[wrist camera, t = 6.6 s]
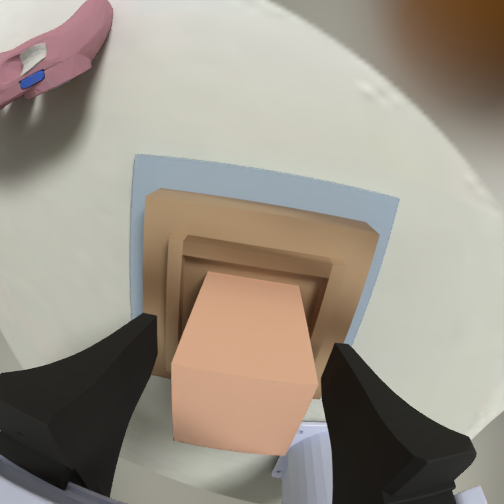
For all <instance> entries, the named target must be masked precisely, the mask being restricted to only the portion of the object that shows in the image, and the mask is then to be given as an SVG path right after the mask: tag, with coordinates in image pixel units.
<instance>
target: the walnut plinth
mask: <svg viewBox="0 0 504 504" xmlns="http://www.w3.org/2000/svg"><path fill="white" fill-rule="evenodd" d="M379 236H380V234H379V233H378V232H376V231H375V230H374V229H373V228H372V227H371V226H370V225H369V224H368V223H366V222H363V221H358V220H353V219H348V218H343V217H338V216H333V215H328V214H323V213H318V212H312V211H307V210H301V209H296V208H290V207H285V206H279V205H273V204H267V203H261V202H255V201H249V200H242V199H236V198H229V197H223V196H216V195H209V194H202V193H195V192H187V191H180V190H172V189H164V188H160V189H158V190H156V191H154V192H152V193H150V194H148V195H146V198H145V214H144V237H143V313H147V314H152V315H157V341H158V355H157V358H156V361H155V365H154V367H153V370H152V373H151V375H156V376H160V377H164V378H169V379H171V363H172V361H173V358H174V355H175V353H176V350H177V348H178V345H179V342H180V340H181V337H182V335H183V332H184V329H185V327H186V324H187V322H188V319H189V317H190V314H191V312H192V309H193V307H194V304H195V302H196V299H197V297H198V294H199V292H200V289H201V287H202V284H203V282H204V279H205V277H206V275H207V272H208V271H209V272H215V273H221V274H227V275H233V276H239V277H245V278H252V279H258V280H264V281H271V282H277V283H283V284H290V285H297V286H299V288H300V293H301V298H302V303H303V307H304V312H305V317H306V322H307V327H308V332H309V337H310V342H311V347H312V353H313V358H314V363H315V368H316V374H317V379H318V387H317V389H316V391H315V394H314V396H313V398H312V399H320V398H321V396H322V394H321V376H322V374H323V371H324V369H325V366H326V364H327V361H328V359H329V356H330V354H331V351H332V348H333V346H334V343H344V341H345V338H346V336H347V333H348V331H349V328H350V325H351V323H352V320H353V317H354V314H355V312H356V309H357V306H358V303H359V300H360V297H361V294H362V291H363V288H364V285H365V282H366V279H367V276H368V273H369V270H370V267H371V263H372V260H373V257H374V253H375V250H376V246H377V243H378V239H379Z"/></svg>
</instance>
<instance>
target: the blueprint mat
mask: <svg viewBox="0 0 504 504" xmlns="http://www.w3.org/2000/svg"><path fill="white" fill-rule="evenodd" d="M160 188H164V189H172V190H180V191H187V192H195V193H202V194H209V195H216V196H223V197H229V198H236V199H242V200H249V201H255V202H261V203H267V204H273V205H279V206H285V207H290V208H296V209H301V210H307V211H312V212H318V213H323V214H328V215H333V216H338V217H343V218H348V219H353V220H358V221H363V222H366V223H368V224H369V225H370V226H371V227H372V228H373V229H374V230H375V231H376V232H378V233H379V234H380V236H379V239H378V243H377V246H376V250H375V253H374V257H373V260H372V263H371V267H370V270H369V273H368V276H367V279H366V282H365V285H364V288H363V291H362V294H361V297H360V300H359V303H358V306H357V309H356V312H355V314H354V317H353V320H352V323H351V325H350V328H349V331H348V333H347V336H346V338H345V341H344V343H345V344H349V345H350V346H351V347H352V344H353V342H354V339H355V337H356V334H357V332H358V329H359V327H360V324H361V321H362V319H363V316H364V313H365V311H366V308H367V305H368V302H369V300H370V297H371V294H372V291H373V288H374V285H375V282H376V279H377V276H378V273H379V270H380V267H381V264H382V261H383V257H384V254H385V251H386V248H387V244H388V241H389V237H390V234H391V230H392V226H393V223H394V219H395V215H396V211H397V207H398V203H399V199H398V198H396V197H392V196H389V195H385V194H381V193H377V192H372V191H368V190H364V189H360V188H355V187H351V186H347V185H342V184H337V183H333V182H328V181H323V180H318V179H313V178H308V177H303V176H298V175H293V174H287V173H281V172H276V171H270V170H264V169H258V168H251V167H245V166H238V165H231V164H224V163H217V162H209V161H201V160H193V159H184V158H175V157H165V156H154V155H143V154H136V155H135V163H134V174H133V188H132V206H131V235H130V279H131V308H132V320H133V319H134V318H136V317H137V316H139V315H140V314H142V313H143V237H144V214H145V198H146V195H148V194H150V193H152V192H154V191H156V190H158V189H160Z"/></svg>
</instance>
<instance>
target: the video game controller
mask: <svg viewBox="0 0 504 504" xmlns="http://www.w3.org/2000/svg"><path fill="white" fill-rule="evenodd" d="M112 18H113V8H112V6H111V4H110V3H109V2H108V0H87V1H86V2H85V3H84V4H83V5H82V6H81V7H80V8H79V9H78V10H77V11H76V12H75V14H74V15H73V16H72V17H71V18H70V19H68V20H67V21H66V22H65V23H64V24H62V25H60V26H59V27H57V28H56V29H54V30H52V31H49V32H47V33H44V34H42V35H39V36H37V37H35V38H33V39H30V40H29V41H27V42H25V43H23V44H21V45H20V46H18V47H16V48H15V49H13V50H10V51H7V52H3V53H0V110H1V109H2V108H4V107H5V106H6V105H8V104H9V103H11V102H12V101H14V100H16V99H17V98H19V97H20V96H22V95H24V97H25V99H30V98H33V97H35V96H38V95H40V94H42V93H44V92H46V91H51V90H54V89H56V88H58V87H60V86H62V85H64V84H66V83H68V82H69V81H70V80H71V79H73V78H74V77H76V76H78V75H80V74H82V73H84V72H85V71H87V70H89V69H90V68H91V61H92V60H93V58H94V57H95V55H96V54H97V52H98V51H99V49H100V48H101V46H102V45H103V43H104V41H105V39H106V37H107V35H108V33H109V31H110V28H111V24H112Z"/></svg>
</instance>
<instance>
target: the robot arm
mask: <svg viewBox="0 0 504 504" xmlns="http://www.w3.org/2000/svg"><path fill="white" fill-rule="evenodd" d="M157 355H158V341H157V315H152V314H147V313H142V314H140V315H139V316H137V317H136V318H134V319H133V320H132V321H130V322H129V323H127V324H126V325H124V326H123V327H122V328H120V329H119V330H117V331H116V332H114V333H113V334H111V335H110V336H108V337H106V338H105V339H103V340H101V341H100V342H98V343H96V344H95V345H93V346H91V347H89V348H87V349H85V350H83V351H81V352H79V353H77V354H75V355H73V356H70V357H68V358H65V359H62V360H59V361H56V362H54V363H51V364H48V365H44V366H40V367H36V368H32V369H27V370H22V371H14V372H6V373H1V374H0V430H1V431H0V504H126V503H123V502H120V501H117V500H114V499H111V498H110V492H111V487H112V482H113V477H114V473H115V469H116V464H117V461H118V457H119V453H120V449H121V446H122V442H123V439H124V436H125V433H126V430H127V426H128V423H129V421H130V418H131V416H132V413H133V411H134V409H135V407H136V405H137V403H138V401H139V399H140V397H141V394H142V392H143V390H144V388H145V386H146V384H147V382H148V380H149V378H150V376H151V373H152V370H153V367H154V365H155V361H156V358H157ZM321 394H322V402H323V408H324V413H325V418H326V422H304V421H302V422H301V425H300V427H299V429H298V431H297V433H296V435H295V437H294V439H293V441H292V443H291V445H290V447H289V449H288V451H287V453H286V455H285V456H280V457H279V459H278V461H277V463H276V465H275V467H274V469H273V471H272V473H271V476H272V477H274V478H282V504H487V502H486V499H485V497H484V494H483V492H482V489H481V486H480V485H478V486H475V487H473V488H470V489H467V490H465V491H462V492H460V493H458V494H456V495H453V492H452V490H453V489H455V487H456V485H455V482H454V480H455V479H456V478H457V477H458V476H459V475H460V474H461V473H463V472H464V470H466V469H467V468H468V467H469V466H470V465H471V463H472V462H473V461H474V459H475V458H476V451H475V449H474V447H473V444H472V442H471V440H470V438H469V437H468V436H465V435H463V434H460V433H458V432H455V431H453V430H451V429H448V428H446V427H444V426H442V425H440V424H438V423H437V422H435V421H433V420H431V419H430V418H428V417H426V416H425V415H423V414H422V413H420V412H419V411H417V410H416V409H414V408H413V407H412V406H410V405H409V404H408V403H406V402H405V401H404V400H403V399H401V398H400V397H399V396H398V395H397V394H396V393H394V392H393V391H392V390H391V389H390V388H389V387H388V386H387V385H386V384H385V383H384V382H383V381H382V380H381V379H380V378H379V377H378V376H377V375H376V374H375V373H374V372H373V371H372V369H371V368H370V367H369V366H368V365H367V364H366V363H365V362H364V360H363V359H362V358H361V357H360V356H359V355H358V354H357V352H356V351H355V350H354V349H353V348H352V347H351V346H350V345H349V344H345V343H334V346H333V348H332V351H331V354H330V356H329V359H328V361H327V364H326V366H325V369H324V371H323V374H322V376H321Z"/></svg>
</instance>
